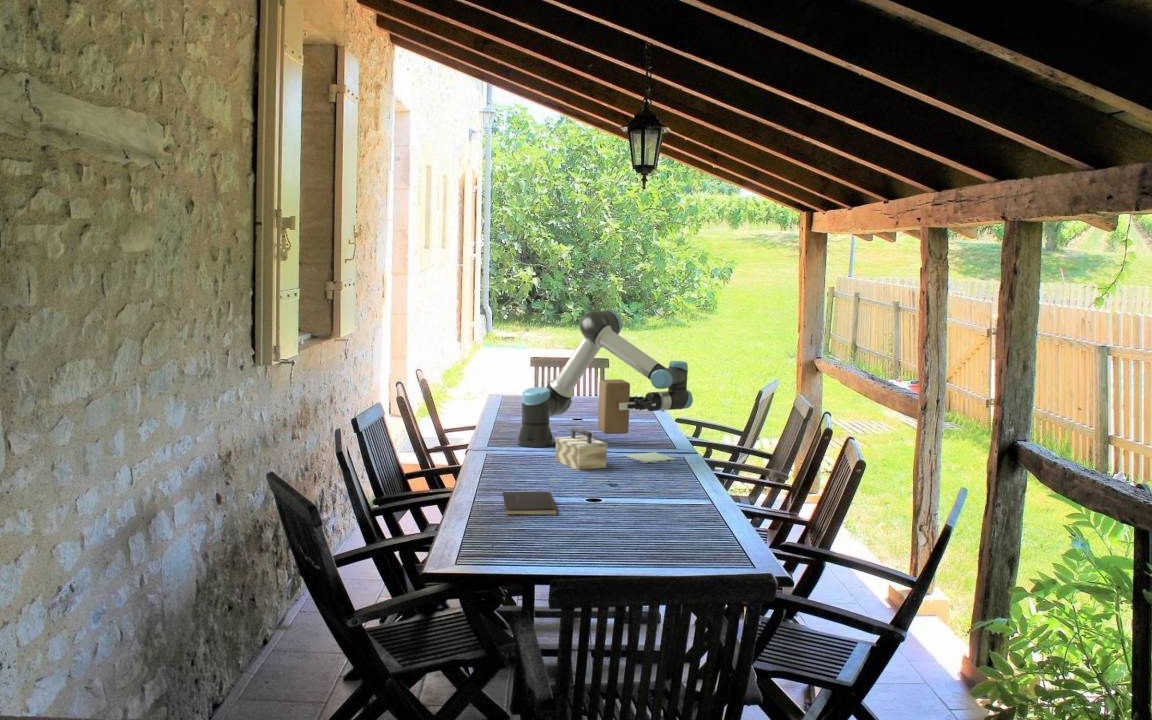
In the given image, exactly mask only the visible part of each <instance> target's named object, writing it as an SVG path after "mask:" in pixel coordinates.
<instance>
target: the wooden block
mask: <svg viewBox="0 0 1152 720" xmlns="http://www.w3.org/2000/svg"><path fill="white" fill-rule="evenodd" d="M598 382H599V383H598V384H599V385H598V387H599V388H598V410H597V411H598V414H597V416H598V417H597V428H598V429H597V430H599V431H600V432H602V434H605V435H621V434H623V435H624V434H628V433H629V427H630V426H629V424H630V423H629V422H630V410H619V403H626V402H629V400H630V397H631V393H630V392H631V384H630V382H628V381H626V380H624V379H618V378H616V379H600V380H599V381H598Z"/></svg>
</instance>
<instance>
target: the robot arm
mask: <svg viewBox="0 0 1152 720" xmlns="http://www.w3.org/2000/svg"><path fill="white" fill-rule="evenodd" d="M622 325H623V323H622V320H621V317H620V316H619V314H618V313H617V312H615V311H614V310H612V309H610V310H609V309H602V310H591V311H588V312H586V313H585V314H584V315H582V317H581V319H580V322H579V329H580V332H581V334H582V336H583V337H582V339H581V340H580V342H579V343H578V345H577V347H576V348H575V349H574V350H573V352H572V354H571V356H570V357H569V358H568V360H567V361H566V363H565V365H564V367H562V369H561V371H560V372H559V373H558V375H557V377H556V378H554V379H551V380H550V381H549V382H548V384H547V385H546V387H542V386H535V387H529V388H526V389H524V390H523V392H522V397H521V427H520V430H519V433H518V435H517V445H518V444H519V445H518V446H521V445H522V447H526V446H527V447H526V448H545V447H551V446H553V445H554V437H553V434H552V430H551V428H550V417H554V416H558V415H562V414H564V413H565V412H567V411H568V410H569V409H570V407H571V405H572V401H573V400H572V397H574V391H573V390H574V389H575V387H576V386H577V384H578V382H579V381H580V379H581V378H582V377H583V375H584V374H585V372H586V371H587V369H589V368H588V367H589V366H590V365H591V363H592V362H593V360H594V359H595V357H596V356H597V355H598V353H599V351H600V350H601V348H603V349H605V350H607V351H608V352H609V353H611V354H612V355H613V356H615V357H616V358H618V359H619V360H621V361H623V362H624V363H625V364H626V365H628V366H630V368H632V369H633V370H635V371H636V372H638V373H640V374H641V375H643V377H645V378H647V379H648V380H649V381H650V383H651V385H652V387H654V388H655V389H657V390H658V389H659V390H662V391H649V392H647V393H646V394H645V395H644V396H638V395H636V396H630V400H629V402H626V403H619V410H629V411H630V410H639V411H643V410H647V411H649V412H658V411H661V412H662V413H664V412H665V411H670V410H676V411H677V410H685V409H686V410H687V409H688V408H689V409H690V408H691V407H692V405H693V401H694V397H693V393H692V392H691V391H690V390H688V389H687V388H688V373H689V370H688V362H686V361H682V360H671V361H669V363H668V367H665V366H664V365H663V364H661V363H660V362H658V361H657V360H656V359H654V358H653V357H651V356H650V355H648V354H647V353H645V352H644V351H643V350H641V349H640V348H638V347H636V346H635V345H634V344H632V343H631V342H629V340H627V339H625V338H624V337H623V336H621V335H619V334H620V333H621V331H622V329H623V328H622V327H623V326H622ZM664 389H665V391H663V390H664ZM666 389H667V390H666Z"/></svg>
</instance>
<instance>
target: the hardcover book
mask: <svg viewBox="0 0 1152 720" xmlns="http://www.w3.org/2000/svg"><path fill="white" fill-rule="evenodd" d="M502 498H503V503H504V508H505V512H506V515H507V514H544V513H546V514H548V513H550V514H553V515H558V509H557V506H556V504H555V501H554V499H553V498H554V497H553V495H552V492H550V491H502Z"/></svg>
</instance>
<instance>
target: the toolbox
mask: <svg viewBox="0 0 1152 720" xmlns="http://www.w3.org/2000/svg"><path fill="white" fill-rule="evenodd" d="M570 432H571V433H570V436H561V437H560V436H559V437H558V436H557V437H555V438H554V441H555V462H557V463H559V462H560V464H562V465H564V466H565V465H566V466H567V467H570V468H572V469H575V470H578V471H582V470H591V469H592V470H593V469H594V470H595V469H601V468H607V457H608V456H607V453H608V452H607V451H608V450H607V449H608V443H607V442H604V441H602V440H599V439H596V438H593V437H592V436H593V434H592V432H591V431H587V430H584V429H581V428H578V427H574V426H571V427H570ZM576 433H577V434H579V435H576ZM580 434H581V435H580Z"/></svg>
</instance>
